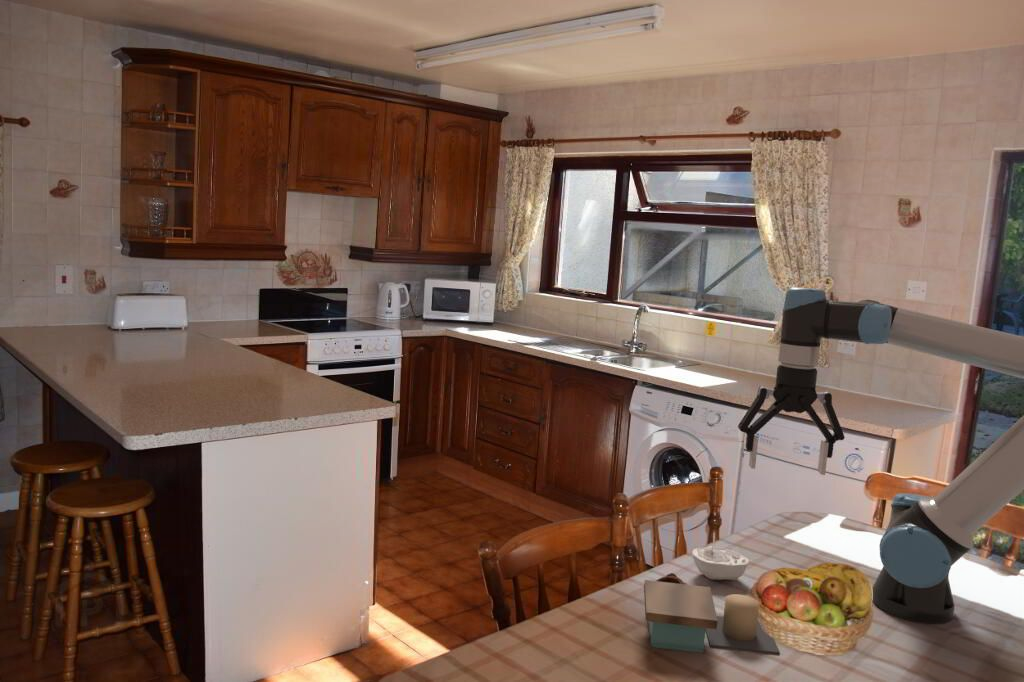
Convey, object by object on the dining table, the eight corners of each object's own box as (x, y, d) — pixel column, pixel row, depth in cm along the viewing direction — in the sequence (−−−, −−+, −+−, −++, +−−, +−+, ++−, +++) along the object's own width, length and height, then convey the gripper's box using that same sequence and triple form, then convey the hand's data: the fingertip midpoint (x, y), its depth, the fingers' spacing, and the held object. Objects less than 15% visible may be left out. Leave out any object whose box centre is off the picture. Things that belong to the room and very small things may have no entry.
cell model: (746, 592, 168) (749, 561, 167) (687, 581, 172) (690, 550, 171) (748, 574, 177) (751, 544, 177) (692, 564, 181) (695, 535, 180)
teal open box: (697, 628, 150) (699, 600, 149) (703, 652, 141) (706, 622, 140) (647, 623, 151) (650, 595, 150) (650, 646, 142) (653, 617, 141)
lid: (709, 595, 150) (710, 587, 150) (716, 629, 138) (717, 620, 138) (644, 587, 152) (644, 579, 151) (645, 620, 140) (646, 612, 140)
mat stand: (765, 623, 154) (769, 591, 153) (779, 654, 142) (783, 619, 141) (701, 616, 155) (704, 584, 154) (710, 646, 143) (713, 612, 143)
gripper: (856, 367, 163) (844, 470, 166) (730, 358, 166) (720, 459, 168) (869, 373, 156) (856, 480, 158) (736, 363, 158) (726, 469, 161)
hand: (786, 470), depth 163 cm, fingers open, 13 cm apart
